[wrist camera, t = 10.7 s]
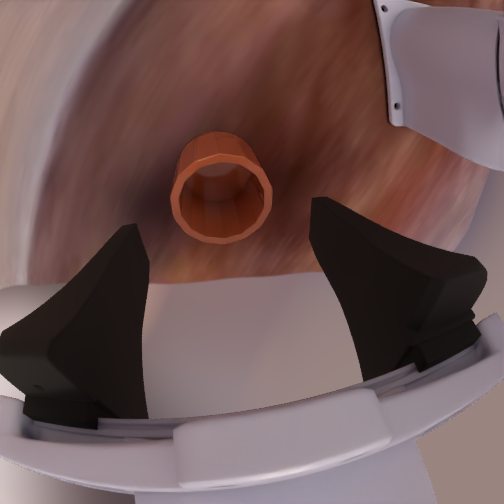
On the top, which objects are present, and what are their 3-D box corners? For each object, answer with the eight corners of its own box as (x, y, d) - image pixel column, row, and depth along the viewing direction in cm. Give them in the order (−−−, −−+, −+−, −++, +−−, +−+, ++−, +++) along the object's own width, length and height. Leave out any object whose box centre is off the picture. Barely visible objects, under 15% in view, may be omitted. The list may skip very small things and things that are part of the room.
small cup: (263, 190, 18) (280, 228, 14) (191, 211, 18) (190, 254, 15) (246, 121, 15) (262, 141, 11) (165, 146, 15) (155, 174, 11)
